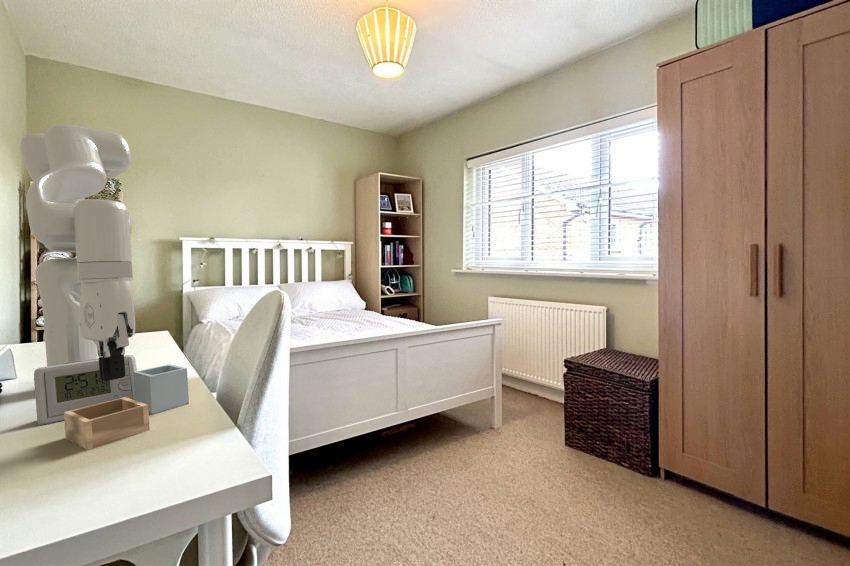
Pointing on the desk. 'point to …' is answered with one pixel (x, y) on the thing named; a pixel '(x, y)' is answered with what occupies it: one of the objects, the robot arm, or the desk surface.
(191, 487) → the desk surface
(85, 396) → the digital clock
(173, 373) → the light blue pen cup
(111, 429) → the oak box
